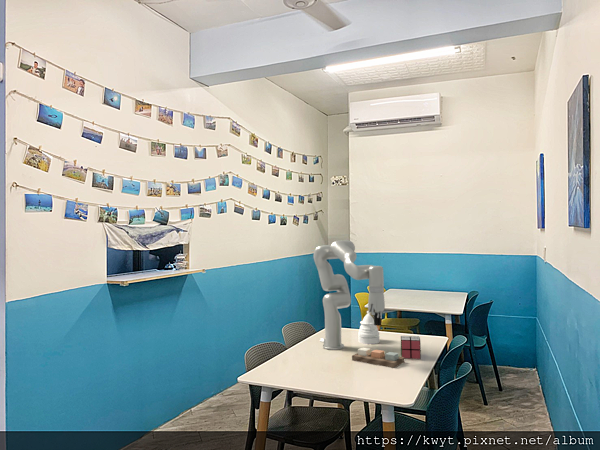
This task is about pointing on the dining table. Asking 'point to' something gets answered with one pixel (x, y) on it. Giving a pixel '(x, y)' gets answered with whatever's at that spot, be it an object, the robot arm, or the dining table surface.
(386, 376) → the dining table surface
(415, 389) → the dining table surface
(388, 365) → the key panel
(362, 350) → the button cream
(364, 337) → the honey pot
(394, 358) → the button sage
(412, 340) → the puzzle cube
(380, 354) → the button terracotta
